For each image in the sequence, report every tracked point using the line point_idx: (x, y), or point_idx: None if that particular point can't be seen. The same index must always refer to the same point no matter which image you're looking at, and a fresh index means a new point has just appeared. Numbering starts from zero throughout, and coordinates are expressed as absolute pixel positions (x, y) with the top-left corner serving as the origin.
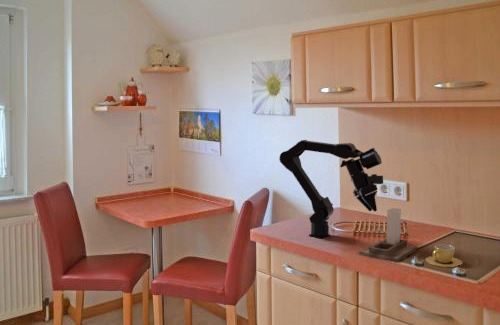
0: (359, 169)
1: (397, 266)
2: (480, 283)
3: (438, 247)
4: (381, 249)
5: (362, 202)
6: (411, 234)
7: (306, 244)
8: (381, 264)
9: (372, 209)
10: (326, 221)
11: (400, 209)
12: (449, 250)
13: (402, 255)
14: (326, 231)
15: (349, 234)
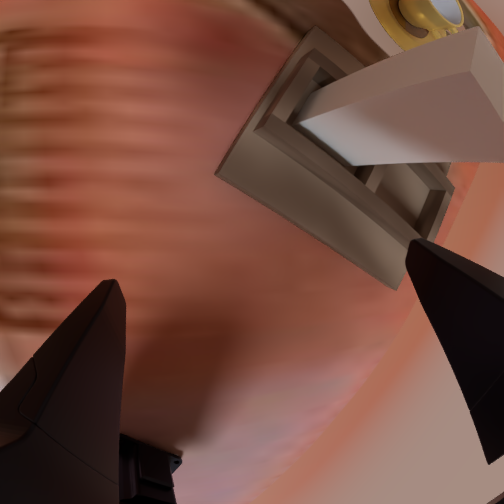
0: None
1: (464, 168)
2: (491, 35)
3: (423, 2)
4: (444, 208)
5: (113, 452)
6: (17, 13)
7: (269, 472)
8: (457, 213)
9: (420, 290)
10: (135, 498)
11: (479, 31)
12: (458, 5)
13: None
14: (158, 463)
15: None
